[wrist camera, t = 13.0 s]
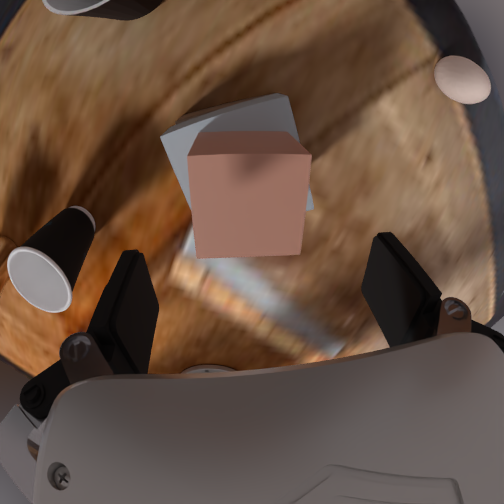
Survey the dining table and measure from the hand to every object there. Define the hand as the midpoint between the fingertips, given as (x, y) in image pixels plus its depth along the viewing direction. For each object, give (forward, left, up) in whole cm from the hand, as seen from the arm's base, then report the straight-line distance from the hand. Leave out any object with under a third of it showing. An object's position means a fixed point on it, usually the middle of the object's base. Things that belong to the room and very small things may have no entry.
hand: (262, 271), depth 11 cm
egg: (+11, -23, -19) cm, 32 cm away
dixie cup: (-6, +20, -19) cm, 28 cm away
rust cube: (0, 0, -11) cm, 11 cm away
